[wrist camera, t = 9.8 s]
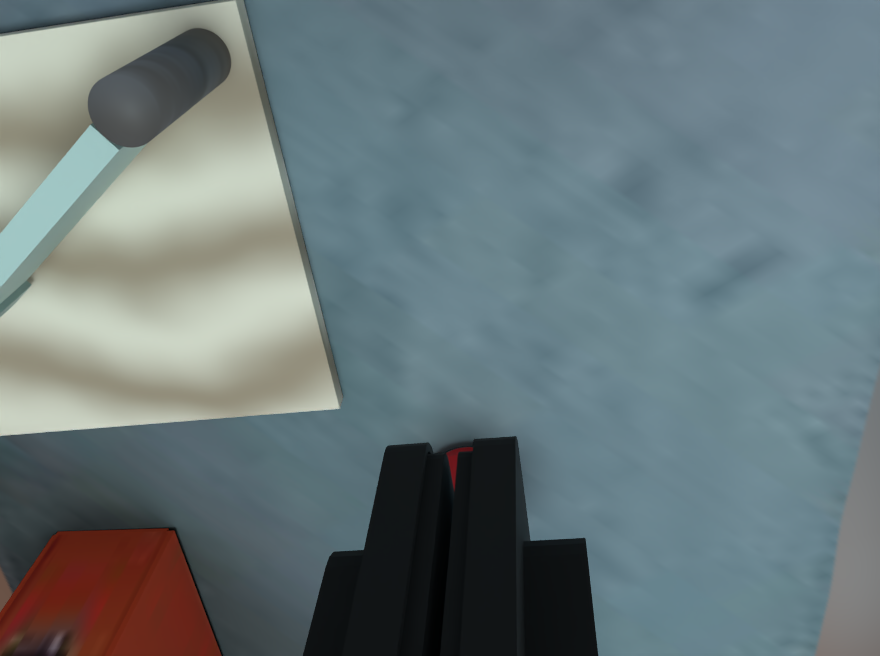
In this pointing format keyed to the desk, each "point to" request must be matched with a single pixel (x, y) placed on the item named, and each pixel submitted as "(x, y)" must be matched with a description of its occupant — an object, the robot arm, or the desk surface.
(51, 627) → the file binder
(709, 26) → the desk surface
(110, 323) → the gate base
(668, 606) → the desk surface
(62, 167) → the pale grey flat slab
